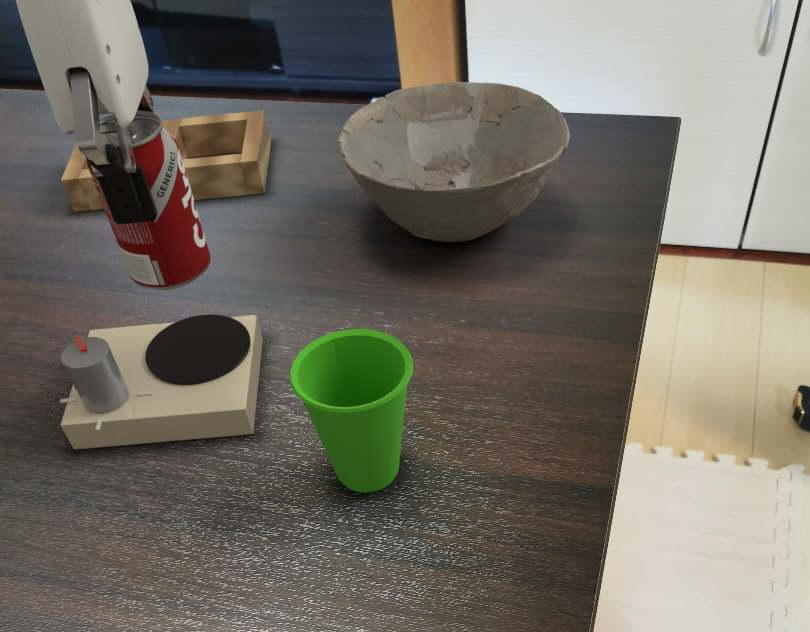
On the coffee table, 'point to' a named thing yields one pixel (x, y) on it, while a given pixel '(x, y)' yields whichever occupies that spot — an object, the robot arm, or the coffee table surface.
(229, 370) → the burner
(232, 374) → the hob
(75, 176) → the box
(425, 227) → the ceramic bowl
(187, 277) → the soda can
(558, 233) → the coffee table surface
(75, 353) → the knob
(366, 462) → the cup
